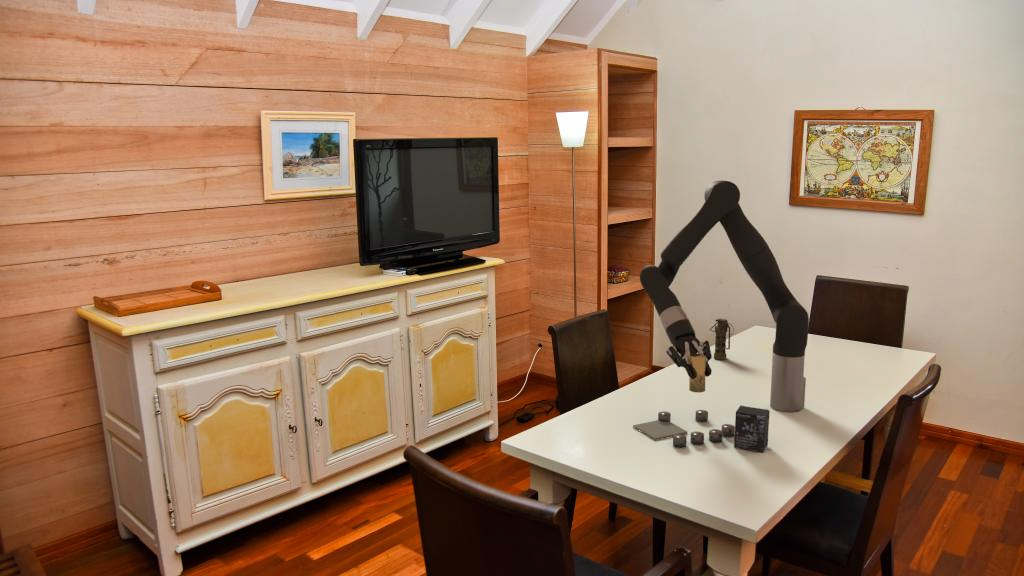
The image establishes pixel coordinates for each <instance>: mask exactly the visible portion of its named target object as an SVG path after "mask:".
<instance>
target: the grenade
mask: <svg viewBox="0 0 1024 576" xmlns="http://www.w3.org/2000/svg"><path fill="white" fill-rule="evenodd" d="M715 322H716V323H714V325H713V326H711V327H710V328H709V331H710V332H712V333H715V337H714V340H715V341H714V347H715V348H714V352H713V358H714V360H717V361H724V360H727V353H726V350H730V348H731V336H733V334H734V331H735V329H734V326H733V325H732V324H731V323H729V322H728V320H727V319H725V318H717V319H715ZM730 326H731V327H732V330H733V332H732V333H731V327H730ZM713 328H714V330H712V329H713ZM727 332H728V339H727ZM727 340H728V342H727ZM726 342H727V343H728V346H726V345H727V343H726Z"/></svg>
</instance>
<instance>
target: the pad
mask: <svg viewBox="0 0 1024 576" xmlns="http://www.w3.org/2000/svg"><path fill="white" fill-rule="evenodd" d="M632 427H633V428H634V427H635V428H636V429H635V428H634V429H635V430H637V429H638V430H637V431H639V430H640V431H642V432H643V433H642V432H641V433H642V434H643V435H645V434H646V435H645V436H647V435H648V436H649V438H650V437H651V438H650V439H652V440H653V439H654V440H653V441H658V440H657V439H659V440H662V439H661V438H664V439H668V438H667V437H669V438H673V436H674V435H677V434H681V435H685V434H686V435H687V434H688V430H685V429H684V428H682V427H680V426H678V425H676V424H675V423H674V422H671V421H670V422H661V421H659V420H658V419H657V420H652V421H647V422H641V423H638V424H637V423H636V424H633V425H632ZM640 431H639V432H640ZM648 436H647V437H648Z"/></svg>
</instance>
